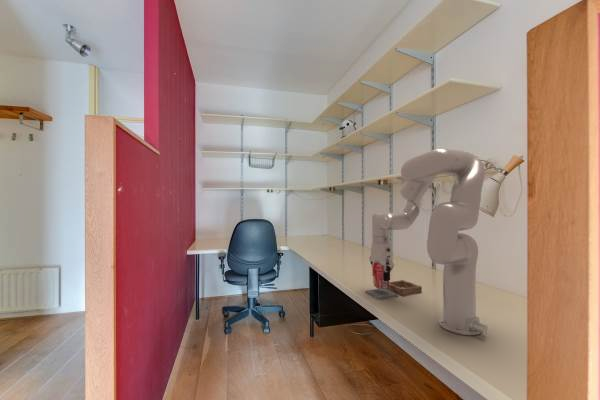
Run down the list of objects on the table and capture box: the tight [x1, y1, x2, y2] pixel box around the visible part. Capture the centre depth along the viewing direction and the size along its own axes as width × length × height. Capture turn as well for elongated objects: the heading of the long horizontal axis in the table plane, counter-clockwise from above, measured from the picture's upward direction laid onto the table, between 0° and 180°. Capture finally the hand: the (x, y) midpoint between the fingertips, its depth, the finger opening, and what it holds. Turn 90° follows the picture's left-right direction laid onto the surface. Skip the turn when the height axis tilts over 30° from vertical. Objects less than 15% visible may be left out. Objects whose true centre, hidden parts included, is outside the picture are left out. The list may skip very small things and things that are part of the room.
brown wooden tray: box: [386, 279, 423, 297], centre depth 128 cm, size 11×11×3 cm
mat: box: [365, 288, 399, 301], centre depth 123 cm, size 10×10×1 cm
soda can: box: [372, 261, 390, 290], centre depth 123 cm, size 7×7×12 cm
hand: (381, 278), depth 123 cm, fingers closed on soda can, 7 cm apart
